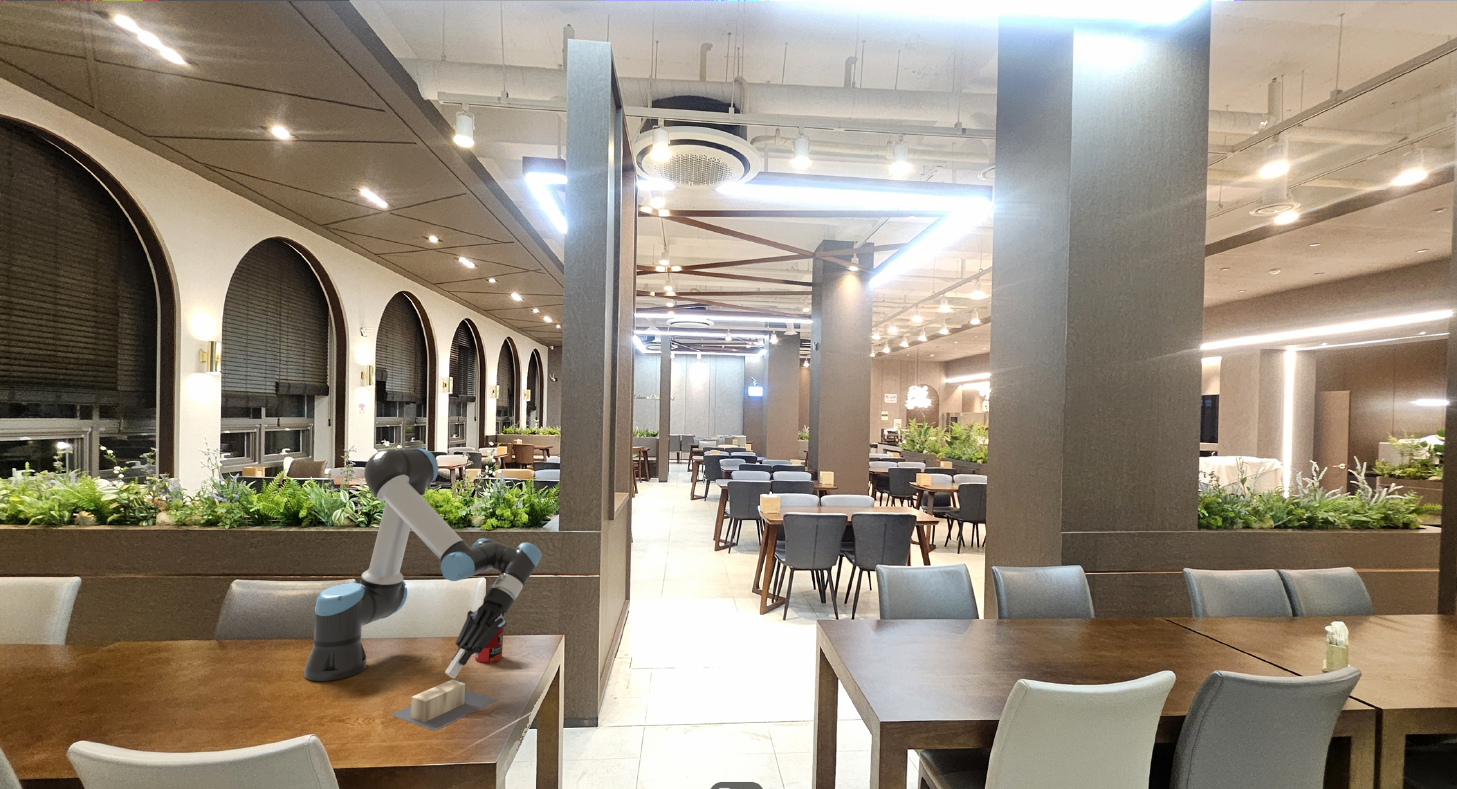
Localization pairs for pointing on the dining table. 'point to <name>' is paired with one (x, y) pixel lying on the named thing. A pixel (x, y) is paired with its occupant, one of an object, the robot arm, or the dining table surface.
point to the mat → (449, 712)
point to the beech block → (438, 700)
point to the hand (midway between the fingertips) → (449, 675)
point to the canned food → (491, 650)
